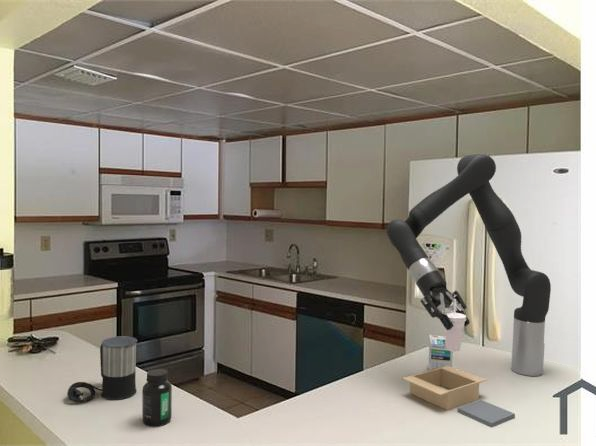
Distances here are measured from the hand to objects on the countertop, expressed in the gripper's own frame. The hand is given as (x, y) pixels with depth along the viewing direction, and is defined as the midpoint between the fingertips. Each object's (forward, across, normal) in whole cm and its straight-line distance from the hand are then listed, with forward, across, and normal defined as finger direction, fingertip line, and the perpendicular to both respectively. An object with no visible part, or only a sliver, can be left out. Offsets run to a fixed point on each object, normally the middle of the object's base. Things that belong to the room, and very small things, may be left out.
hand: (458, 326), depth 134 cm
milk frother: (-22, -81, +51) cm, 99 cm away
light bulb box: (+3, +14, +27) cm, 31 cm away
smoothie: (+4, 0, +6) cm, 7 cm away
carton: (+12, 0, +18) cm, 21 cm away
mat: (+22, 0, +8) cm, 23 cm away
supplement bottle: (-7, -74, +36) cm, 82 cm away
